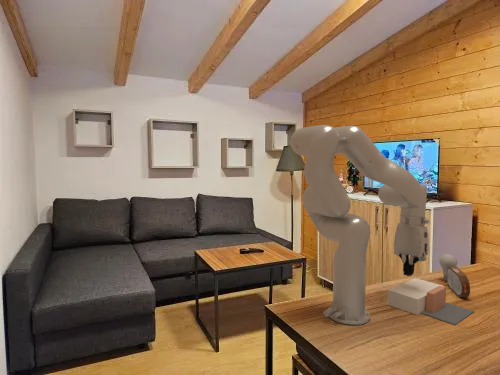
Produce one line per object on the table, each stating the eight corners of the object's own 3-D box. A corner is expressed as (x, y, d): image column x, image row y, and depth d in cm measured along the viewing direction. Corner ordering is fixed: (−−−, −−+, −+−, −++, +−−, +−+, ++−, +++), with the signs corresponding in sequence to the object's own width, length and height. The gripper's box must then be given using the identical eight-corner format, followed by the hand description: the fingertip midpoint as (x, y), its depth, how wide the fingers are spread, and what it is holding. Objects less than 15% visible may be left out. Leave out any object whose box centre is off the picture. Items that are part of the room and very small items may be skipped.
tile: (426, 310, 110) (432, 312, 108) (426, 292, 109) (433, 294, 108) (438, 303, 115) (445, 305, 114) (439, 285, 115) (446, 287, 113)
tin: (470, 301, 118) (471, 277, 117) (460, 300, 118) (461, 276, 118) (454, 285, 132) (455, 263, 132) (445, 285, 133) (445, 263, 132)
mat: (455, 325, 101) (455, 324, 101) (420, 313, 109) (420, 312, 109) (474, 311, 109) (474, 311, 109) (440, 301, 117) (440, 300, 117)
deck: (417, 315, 107) (418, 299, 107) (387, 304, 115) (387, 289, 115) (443, 300, 118) (444, 285, 118) (414, 291, 126) (414, 278, 126)
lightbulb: (439, 277, 141) (440, 251, 140) (457, 280, 137) (458, 253, 136) (437, 282, 136) (438, 254, 135) (455, 285, 132) (456, 257, 131)
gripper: (440, 223, 112) (436, 279, 114) (396, 217, 124) (393, 267, 125) (429, 225, 108) (425, 283, 109) (385, 218, 120) (381, 270, 121)
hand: (408, 274), depth 117 cm, fingers closed
